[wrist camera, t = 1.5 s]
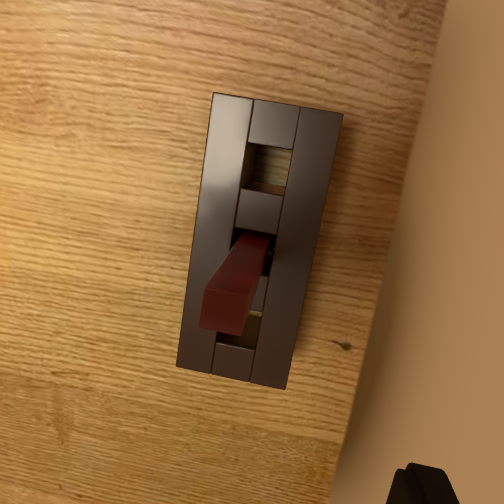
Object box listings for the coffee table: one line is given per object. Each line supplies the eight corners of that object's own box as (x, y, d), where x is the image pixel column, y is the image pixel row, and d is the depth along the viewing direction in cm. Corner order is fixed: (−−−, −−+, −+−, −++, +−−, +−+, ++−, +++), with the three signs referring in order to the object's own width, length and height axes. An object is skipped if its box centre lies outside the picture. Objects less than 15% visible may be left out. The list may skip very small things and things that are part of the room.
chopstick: (274, 225, 28) (248, 295, 15) (269, 248, 29) (241, 337, 15) (250, 220, 28) (203, 286, 15) (246, 243, 29) (197, 328, 15)
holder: (336, 119, 26) (344, 113, 21) (288, 352, 30) (285, 390, 25) (228, 101, 27) (212, 91, 22) (195, 332, 31) (175, 367, 26)
